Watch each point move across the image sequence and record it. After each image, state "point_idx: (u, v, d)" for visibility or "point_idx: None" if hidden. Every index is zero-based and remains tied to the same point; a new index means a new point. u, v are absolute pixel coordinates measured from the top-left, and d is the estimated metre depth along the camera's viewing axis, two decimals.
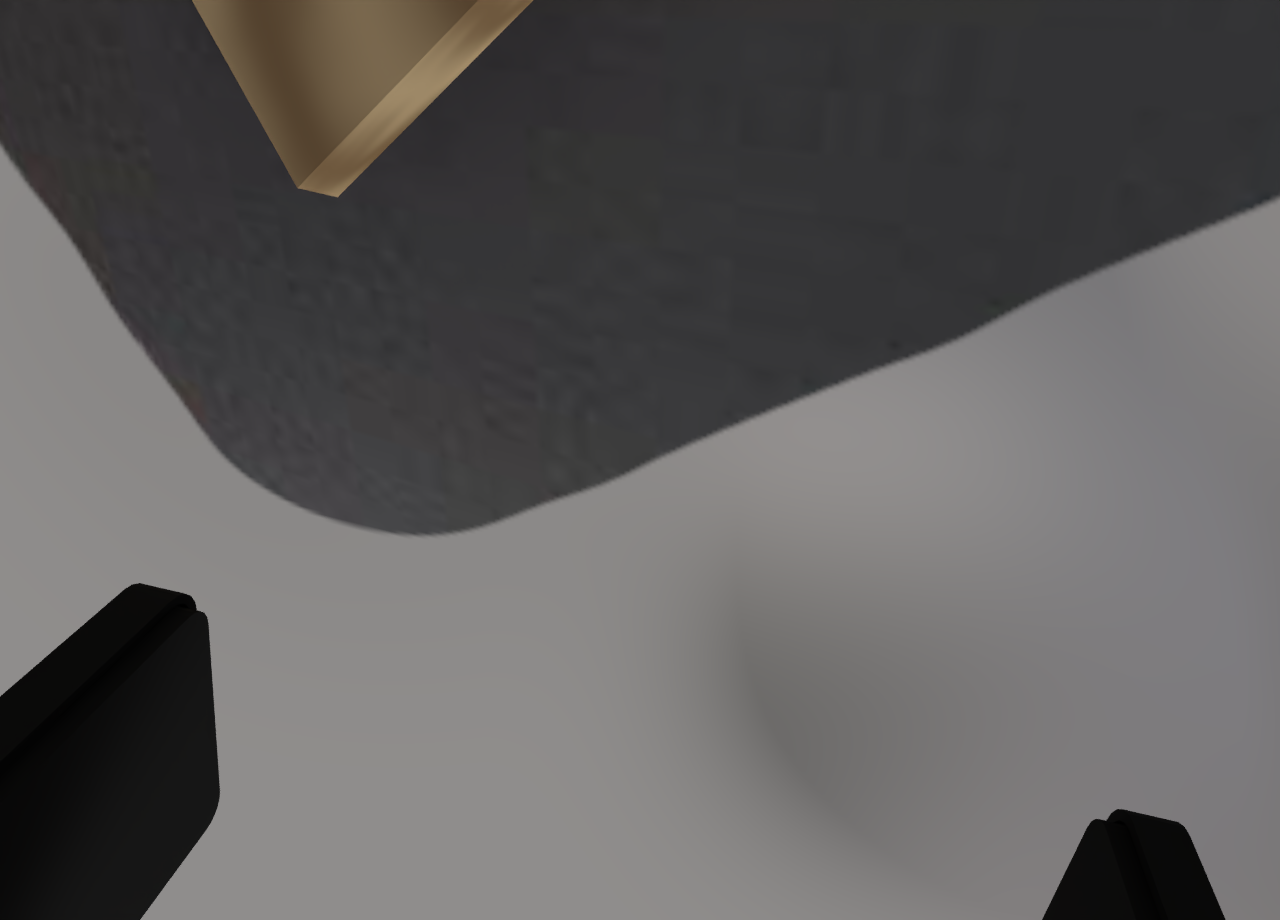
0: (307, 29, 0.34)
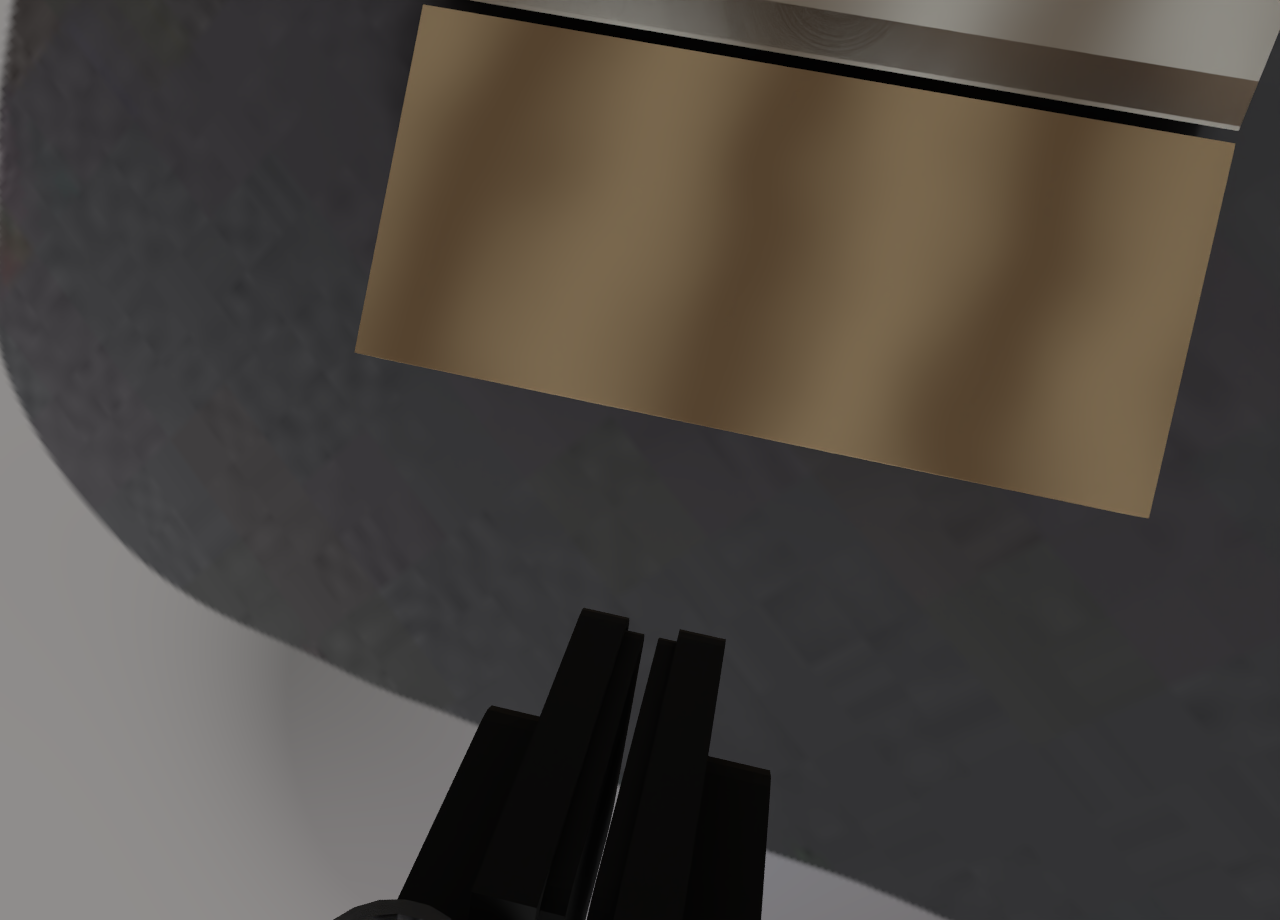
0: (514, 224, 0.25)
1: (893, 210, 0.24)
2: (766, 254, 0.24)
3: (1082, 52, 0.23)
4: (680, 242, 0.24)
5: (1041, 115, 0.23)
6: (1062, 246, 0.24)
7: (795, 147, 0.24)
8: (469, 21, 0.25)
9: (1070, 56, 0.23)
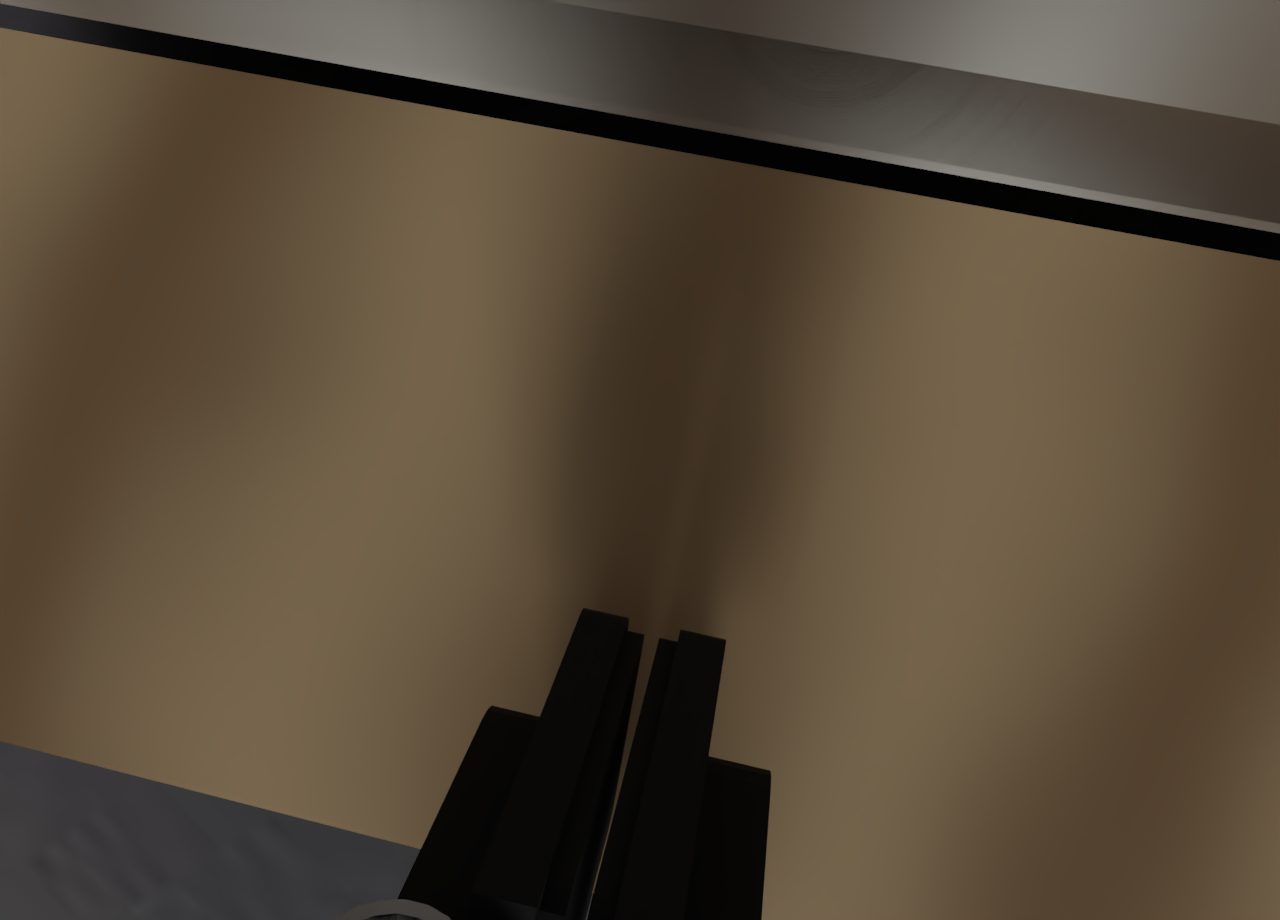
0: (180, 470, 0.12)
1: (940, 460, 0.12)
2: (678, 543, 0.12)
3: None
4: (504, 514, 0.12)
5: (1257, 268, 0.11)
6: None
7: (737, 325, 0.12)
8: (85, 61, 0.12)
9: None
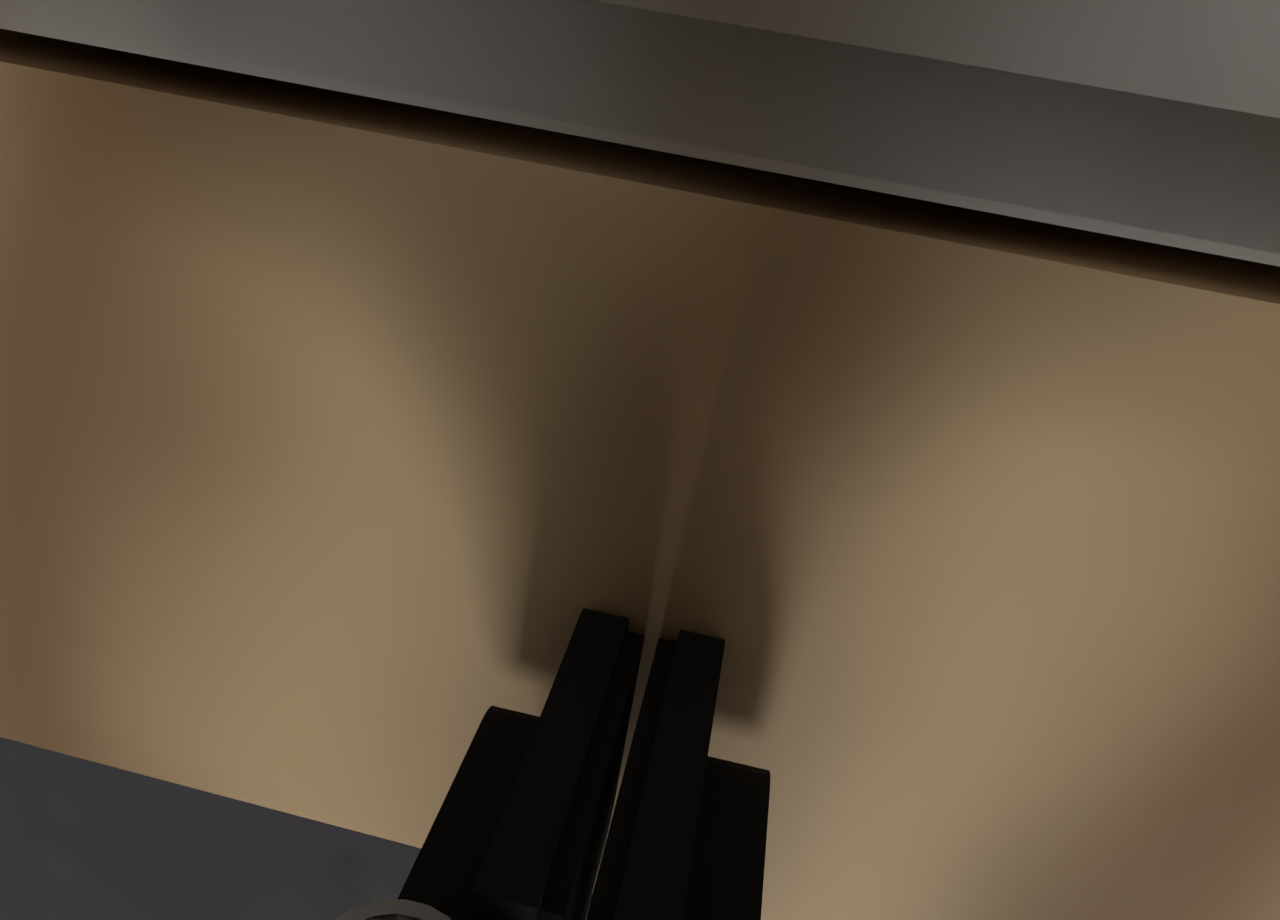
0: (152, 533, 0.12)
1: (992, 560, 0.10)
2: (688, 626, 0.11)
3: None
4: (498, 591, 0.11)
5: None
6: None
7: (752, 406, 0.10)
8: None
9: None
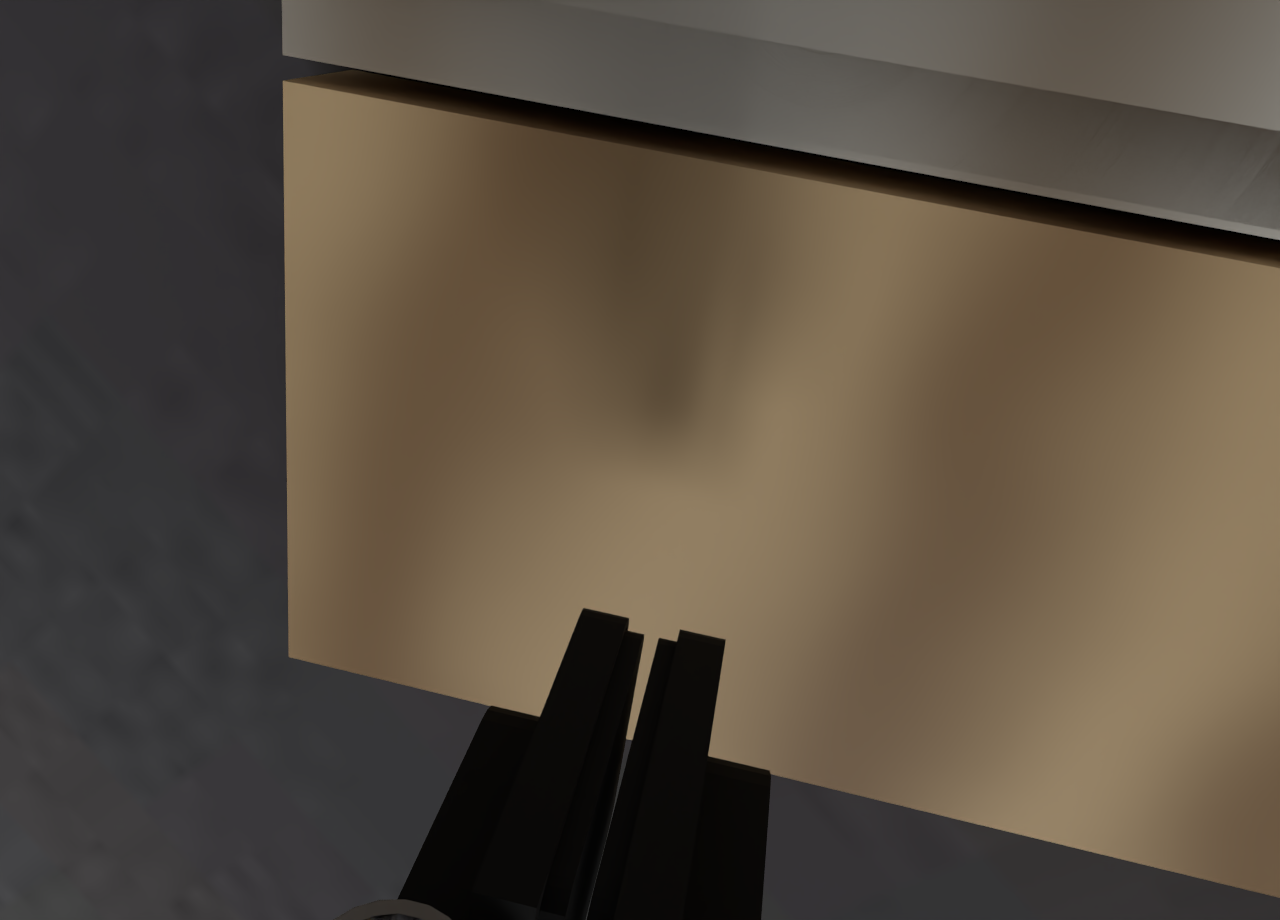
0: (514, 492, 0.14)
1: (1228, 505, 0.12)
2: (968, 563, 0.13)
3: None
4: (809, 536, 0.14)
5: None
6: None
7: (1045, 384, 0.12)
8: (380, 118, 0.12)
9: None
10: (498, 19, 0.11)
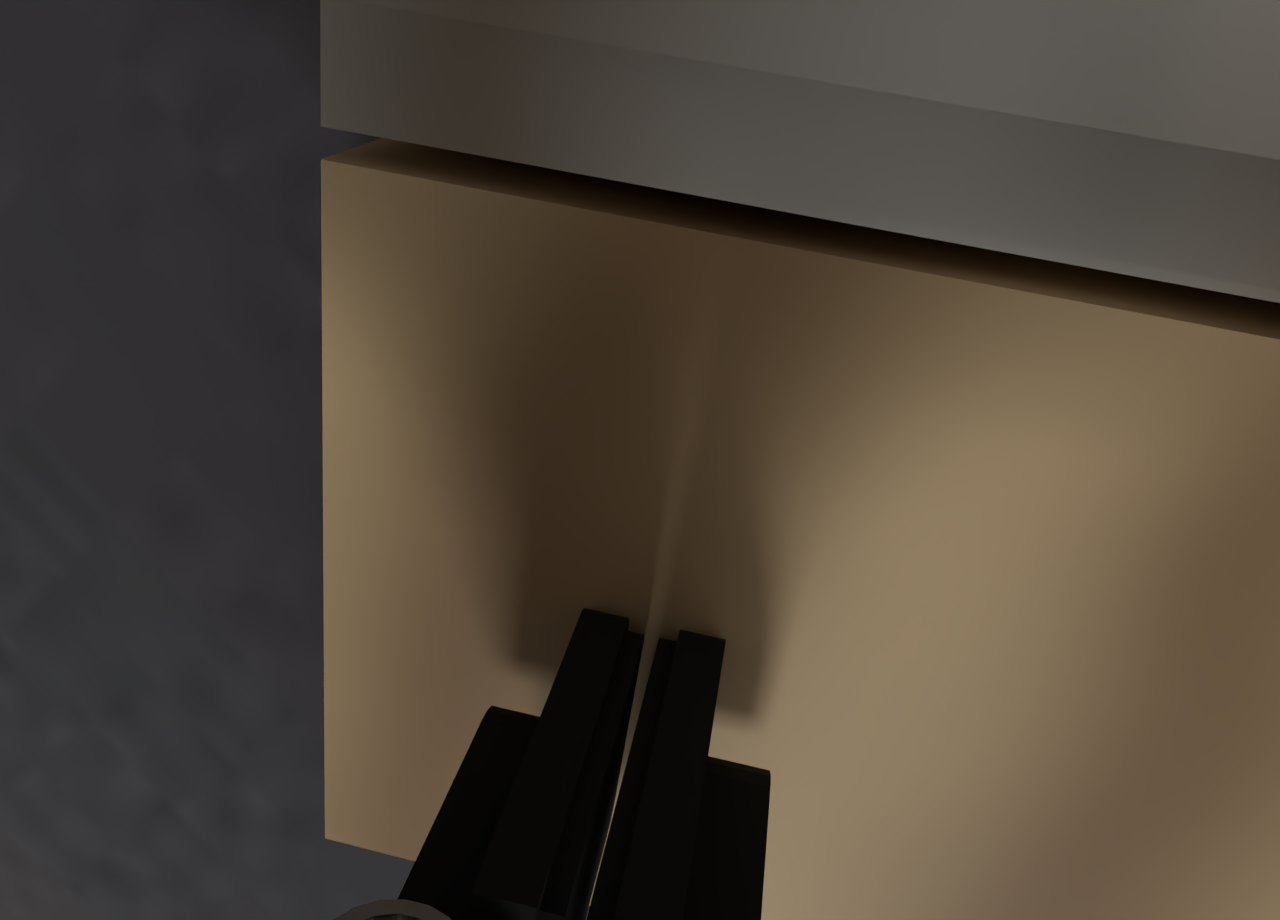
0: None
1: None
2: (1205, 766, 0.10)
3: None
4: (997, 728, 0.11)
5: None
6: None
7: None
8: (451, 209, 0.09)
9: None
10: (616, 82, 0.08)
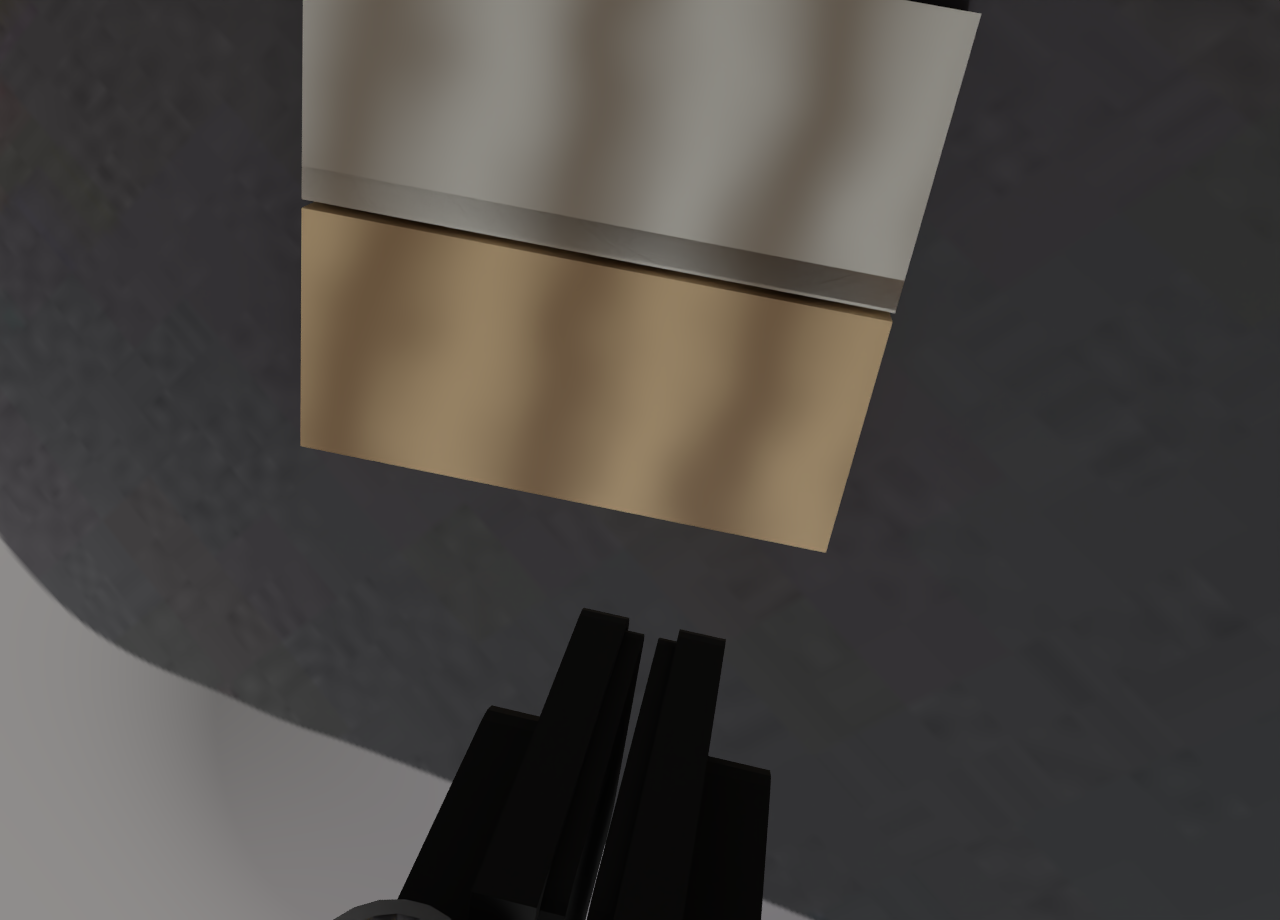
0: (395, 366, 0.35)
1: (655, 362, 0.34)
2: (570, 389, 0.35)
3: (782, 257, 0.32)
4: (510, 380, 0.35)
5: (756, 300, 0.32)
6: (771, 388, 0.34)
7: (585, 318, 0.33)
8: (338, 221, 0.33)
9: (774, 259, 0.32)
10: (380, 189, 0.32)
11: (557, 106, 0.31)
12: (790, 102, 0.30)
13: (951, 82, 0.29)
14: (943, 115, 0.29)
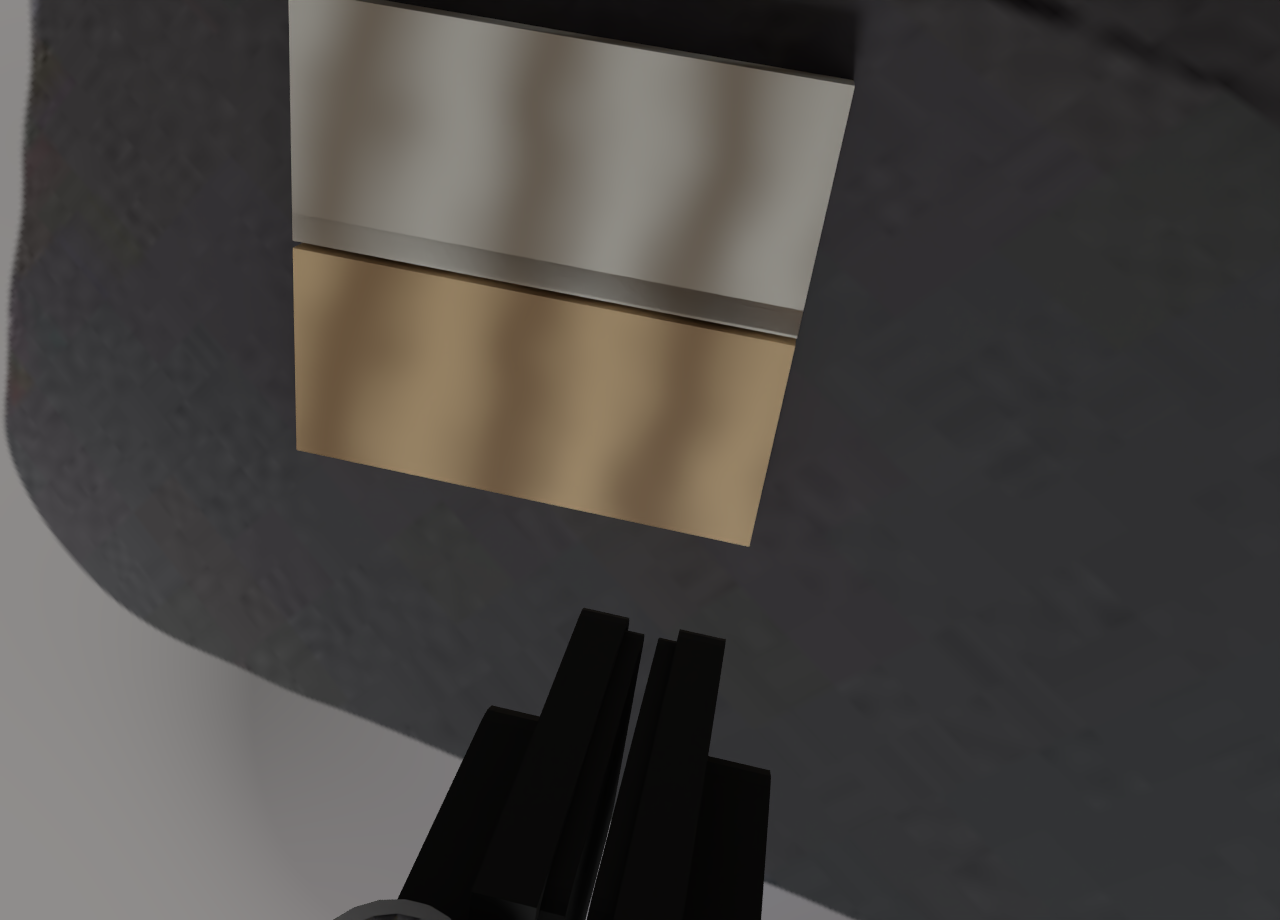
0: (374, 381, 0.41)
1: (594, 379, 0.39)
2: (523, 402, 0.40)
3: (698, 290, 0.37)
4: (472, 394, 0.40)
5: (678, 327, 0.37)
6: (694, 402, 0.39)
7: (533, 341, 0.39)
8: (323, 259, 0.39)
9: (691, 292, 0.37)
10: (357, 232, 0.38)
11: (502, 163, 0.36)
12: (698, 160, 0.35)
13: (833, 143, 0.34)
14: (828, 171, 0.34)
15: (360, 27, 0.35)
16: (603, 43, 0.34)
